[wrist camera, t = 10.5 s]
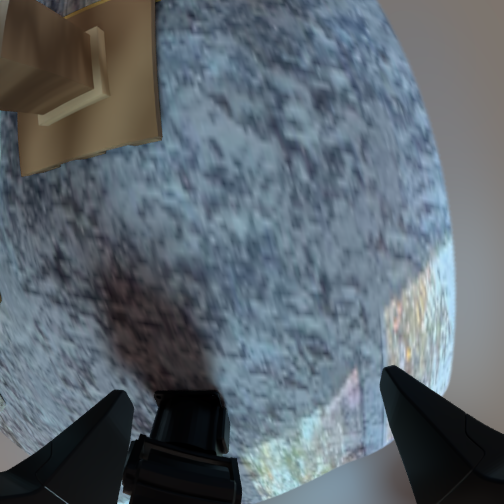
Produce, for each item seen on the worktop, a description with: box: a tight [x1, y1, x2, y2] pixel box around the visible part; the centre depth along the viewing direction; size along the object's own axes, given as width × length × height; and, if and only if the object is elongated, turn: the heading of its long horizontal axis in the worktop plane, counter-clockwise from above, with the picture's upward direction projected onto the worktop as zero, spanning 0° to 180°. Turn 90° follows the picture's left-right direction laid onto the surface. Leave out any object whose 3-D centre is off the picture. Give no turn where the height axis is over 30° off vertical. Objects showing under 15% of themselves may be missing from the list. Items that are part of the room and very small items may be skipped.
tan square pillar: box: [0, 0, 110, 126], centre depth 8 cm, size 6×6×13 cm
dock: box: [18, 0, 163, 177], centre depth 15 cm, size 12×12×2 cm
